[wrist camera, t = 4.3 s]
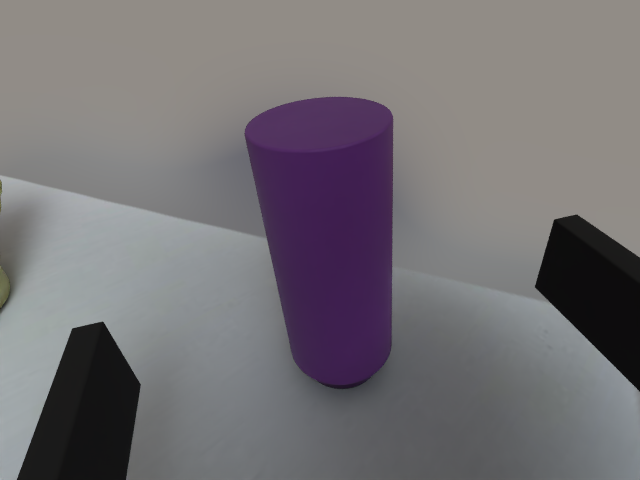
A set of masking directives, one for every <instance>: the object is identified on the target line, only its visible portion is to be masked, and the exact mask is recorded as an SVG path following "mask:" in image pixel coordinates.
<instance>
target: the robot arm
mask: <svg viewBox="0 0 640 480" xmlns="http://www.w3.org/2000/svg"><path fill="white" fill-rule="evenodd" d="M535 288H536V289H537V290H538V291H539V292H540V293H541V294H542V295H543V296H544V297H545V298H546V299H548V301H549V302H550V303H551V304H552V305H553V306H554V307H555V308H556V309H557V310H558V311H559V312H560V313H561V314H562V315H563V316H564V317H565V318H566V319H567V320H568V321H570V322H571V323H572V324H573V325H574V326H575V327H576V328H577V329H578V330H579V331H580V332H581V333H582V334H583V335H584V336H585V337H586V338H587V339H588V340H589V341H590V342H591V343H592V344H593V345H594V346H595V347H596V348H597V349H598V350H599V351H600V352H601V353H602V354H603V355H604V356H605V357H606V358H607V359H608V360H609V361H610V362H611V363H612V364H613V365H614V366H615V367H616V368H617V369H618V370H619V371H620V372H621V373H622V374H623V375H624V376H625V377H626V378H627V379H628V380H629V381H630V382H631V383H632V384H633V385H634V386H635V387H636V388H637V389H638V390H639V391H640V257H638V256H636V255H635V254H634V253H632V252H631V251H629V250H628V249H626V248H625V247H623V246H622V245H620V244H619V243H618V242H616V241H615V240H613V239H612V238H610V237H609V236H607V235H606V234H605V233H603V232H601V231H600V230H599V229H597V228H596V227H594V226H593V225H591V224H590V223H589V222H587V221H586V220H584V219H583V218H581V217H580V216H578V215H573V216H568V217H563V218H559V219H555V220H554V222H553V226H552V229H551V233H550V236H549V240H548V243H547V247H546V250H545V253H544V257H543V261H542V264H541V267H540V271H539V274H538V278H537V281H536V285H535ZM140 386H141V384H140V383H139V381H138V379H137V377H136V376H135V374H134V372H133V371H132V369H131V367H130V366H129V364H128V362H127V361H126V359H125V357H124V356H123V354H122V352H121V351H120V349H119V347H118V346H117V344H116V342H115V341H114V339H113V337H112V336H111V334H110V332H109V330H108V329H107V327H106V325H105V324H104V322H99V323H94V324H90V325H85V326H81V327H77V328H72V331H71V334H70V336H69V339H68V342H67V345H66V347H65V350H64V353H63V355H62V358H61V361H60V364H59V366H58V369H57V372H56V375H55V377H54V380H53V383H52V385H51V388H50V391H49V394H48V396H47V399H46V402H45V405H44V407H43V410H42V413H41V415H40V418H39V421H38V424H37V426H36V429H35V432H34V435H33V437H32V440H31V443H30V445H29V448H28V451H27V454H26V456H25V459H24V462H23V465H22V467H21V470H20V473H19V475H18V478H17V480H126V476H127V469H128V463H129V457H130V450H131V444H132V437H133V431H134V425H135V418H136V412H137V406H138V399H139V393H140Z"/></svg>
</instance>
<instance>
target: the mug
mask: <svg viewBox="0 0 640 480" xmlns="http://www.w3.org/2000/svg"><path fill="white" fill-rule="evenodd" d="M1 193H2V182H1V180H0V196H1ZM0 211H1V199H0ZM9 290H10V282H9V279H8V277H7V276H6V274H5V272H4V271H3V269H2V267H1V265H0V308H1V307H2V306H3V304H4V303H5V301H6V300H7V298H8V296H9Z"/></svg>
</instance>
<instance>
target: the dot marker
mask: <svg viewBox="0 0 640 480" xmlns="http://www.w3.org/2000/svg"><path fill="white" fill-rule="evenodd" d="M245 138H246V143H247V148H248V152H249V157H250V162H251V166H252V171H253V176H254V180H255V185H256V189H257V194H258V199H259V204H260V208H261V213H262V217H263V222H264V227H265V231H266V236H267V241H268V245H269V250H270V255H271V259H272V264H273V268H274V273H275V278H276V282H277V287H278V292H279V296H280V301H281V306H282V310H283V315H284V319H285V324H286V329H287V333H288V338H289V343H290V347H291V352H292V355H293V358H294V360H295V363H296V364H297V365H298V367H299V368H300V369H301V370H302V371H303V372H304V373H305V374H307V375H308V376H309V377H311V378H313V379H315V380H317V381H318V382H319V383H321V384H323V385H325V386H328V387H331V388H337V389H346V388H352V387H355V386H358V385H360V384H362V383H364V382H366V381H367V380H368V379H369V378H371V376H372V375H373V374H375V373H376V372H377V371H378V370H379V369H380V368H381V367H382V366H383V365H384V363H385V362H386V360H387V358H388V356H389V354H390V351H391V340H392V204H393V203H392V202H393V197H392V196H393V116H392V113H391V111H390V110H389V109H388V108H387V107H385V106H384V105H382V104H379V103H377V102H374V101H370V100H366V99H360V98H350V97H325V98H314V99H307V100H301V101H296V102H291V103H288V104H284V105H281V106H278V107H275V108H272V109H270V110H267V111H265V112H263V113H261V114H259V115H258V116H256V117H255V118H253V119H252V120H251V121H250V122H249V123H248V125H247V126H246V129H245Z"/></svg>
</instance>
